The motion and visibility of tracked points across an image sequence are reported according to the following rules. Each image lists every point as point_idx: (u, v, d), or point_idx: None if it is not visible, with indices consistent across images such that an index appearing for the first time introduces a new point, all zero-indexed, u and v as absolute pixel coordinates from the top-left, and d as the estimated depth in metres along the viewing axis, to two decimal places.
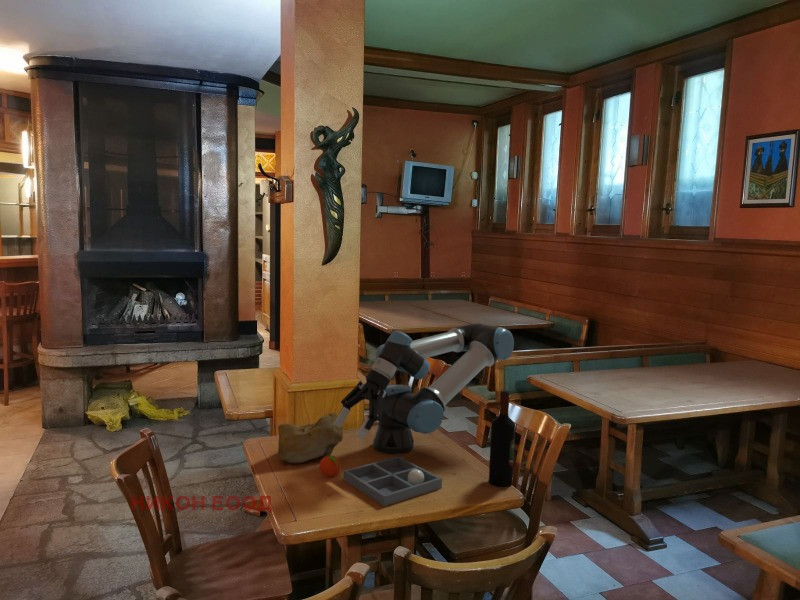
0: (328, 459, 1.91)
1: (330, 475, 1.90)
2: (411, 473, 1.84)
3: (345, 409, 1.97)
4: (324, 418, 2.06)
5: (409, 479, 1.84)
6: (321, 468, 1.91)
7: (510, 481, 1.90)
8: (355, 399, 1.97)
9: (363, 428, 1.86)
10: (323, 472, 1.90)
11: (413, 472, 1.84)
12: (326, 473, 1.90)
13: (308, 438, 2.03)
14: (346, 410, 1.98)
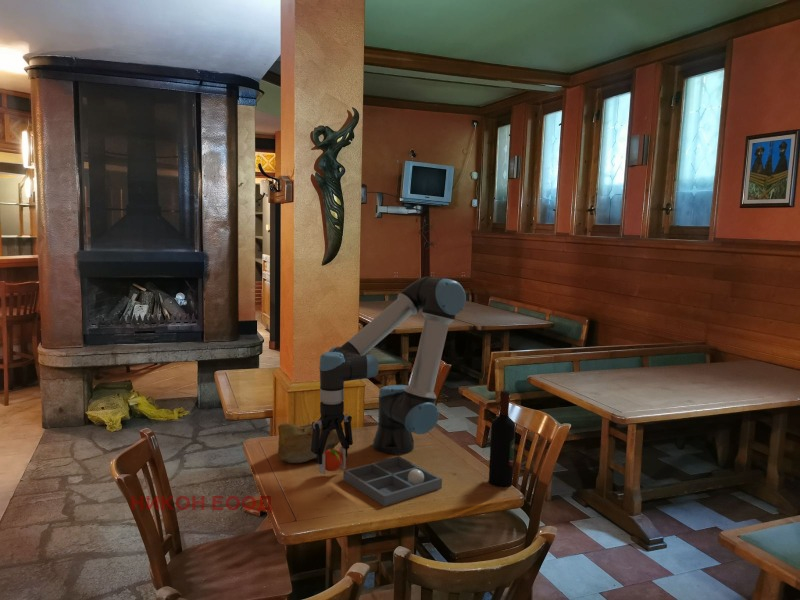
0: (329, 453, 1.91)
1: (332, 469, 1.90)
2: (411, 473, 1.84)
3: (340, 449, 1.95)
4: None
5: (409, 479, 1.84)
6: None
7: (510, 481, 1.90)
8: (337, 433, 1.94)
9: None
10: (325, 465, 1.90)
11: (413, 472, 1.84)
12: (328, 467, 1.90)
13: (308, 438, 2.03)
14: (341, 450, 1.94)
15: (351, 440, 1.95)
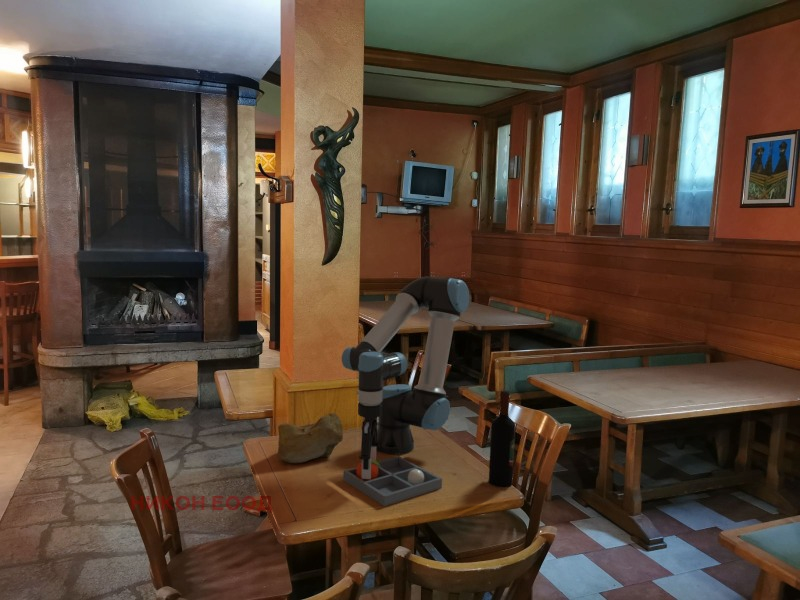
0: None
1: None
2: (411, 473, 1.84)
3: None
4: (324, 418, 2.06)
5: (409, 479, 1.84)
6: None
7: (510, 481, 1.90)
8: None
9: (363, 469, 1.82)
10: None
11: (413, 472, 1.84)
12: (372, 478, 1.85)
13: (308, 438, 2.03)
14: (371, 448, 1.91)
15: (376, 437, 1.93)
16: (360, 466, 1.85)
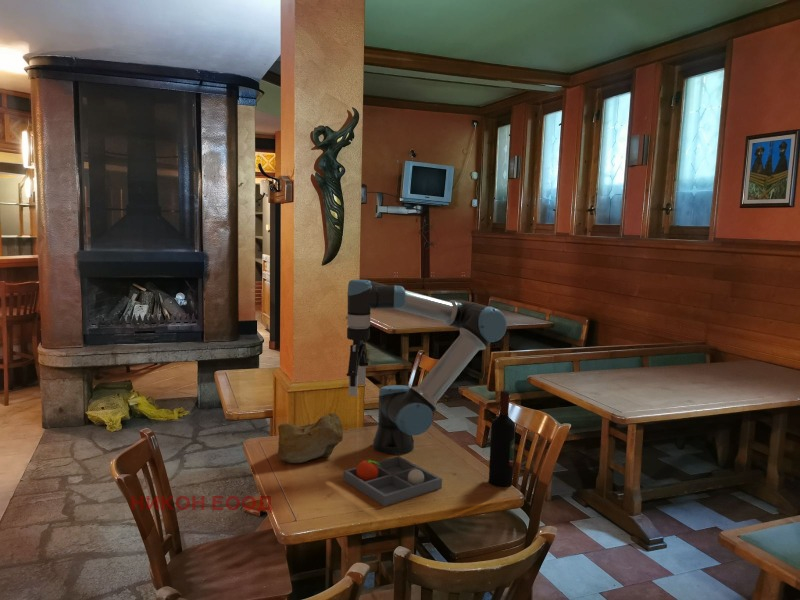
0: (370, 464, 1.86)
1: None
2: (411, 473, 1.84)
3: (359, 368, 2.04)
4: (324, 418, 2.06)
5: (409, 479, 1.84)
6: (367, 475, 1.84)
7: (510, 481, 1.90)
8: None
9: (350, 386, 1.91)
10: (369, 477, 1.84)
11: (413, 472, 1.84)
12: (372, 478, 1.85)
13: (308, 438, 2.03)
14: (361, 368, 2.04)
15: (366, 358, 2.06)
16: (360, 466, 1.85)
